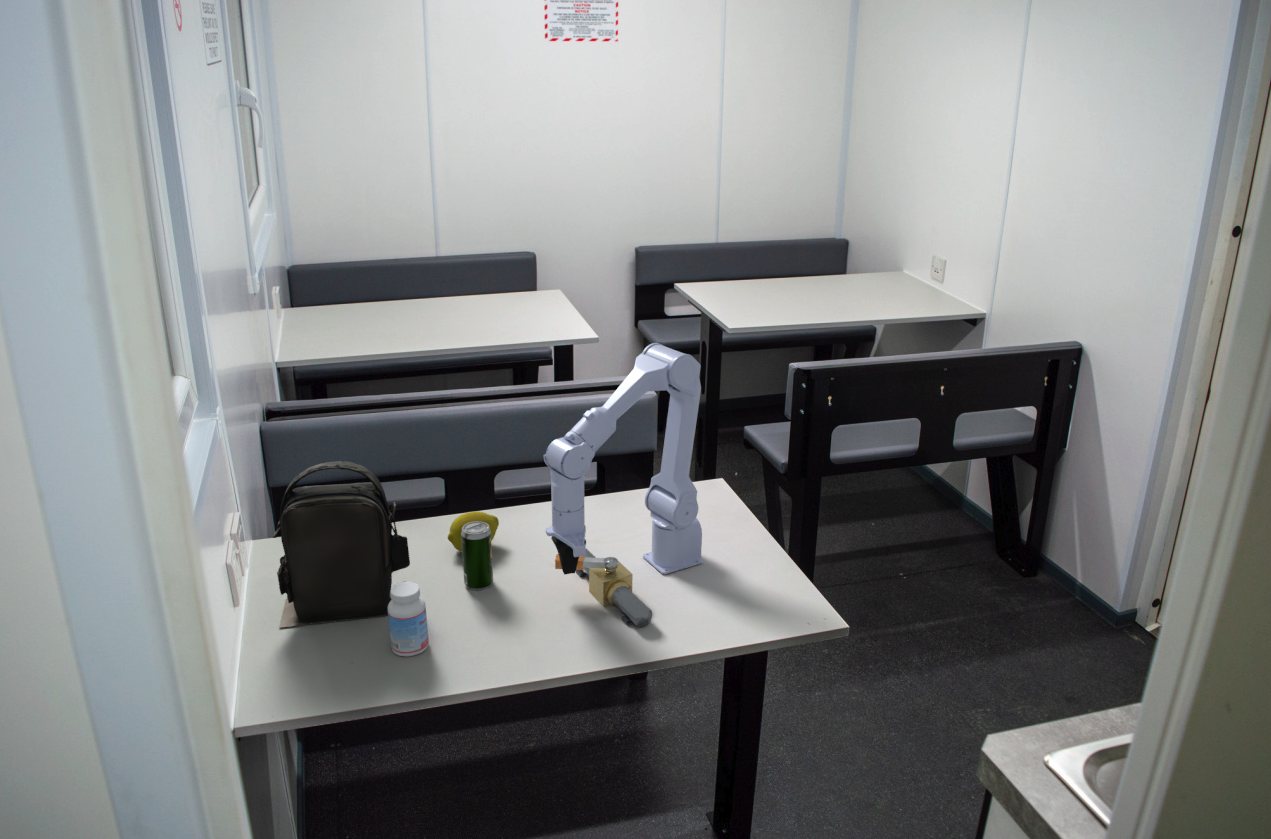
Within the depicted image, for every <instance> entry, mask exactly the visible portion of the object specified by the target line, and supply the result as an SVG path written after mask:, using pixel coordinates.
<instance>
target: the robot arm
mask: <svg viewBox="0 0 1271 839" xmlns="http://www.w3.org/2000/svg"><path fill="white" fill-rule="evenodd" d="M701 367H702V366H701V364H700V363H699V362H698V361H697V359H696V358H695V357H694V356H692V355H691V354H689V353H688V354H687V353H684V352H681V351H679V350H675V349H673V348H670V347H667V346H665V345H663V344H661V343H659V342H653V343H650V344H648V345H647V346H646V347H645V348H644V349H643V351H642V353H639V355H638V356H636V357H635V363H634V367H633V369H632V370H631V371H630V373H629V374H628V375H627V376H626V377H625V379H624V380H623V381H622V382H621V384H619V386H618V387H617V389H616V390H615V391H614V392H613V393H612V394H611V395H610V396H609V397H608V399H607V401H605V403H604V404H603V405H602V406H598V407H591V408H590V409H589V410H588V409H587V410H586V411H585V413H583V414H582V418H581V419H580V420H579V421H578V422H577V423H576V424H575V425H573V427H572V428H571V429H570V430H569V431H567V433H565V435H564V436H563V437H559V438H556V439H554V440H553V441H551V443H549V445H548V447H547V448H546V451H545V454H543V461H544V463H545V465H546V466H548V468H549V475H550V484H551V486H550V487H551V490H550V491H551V526H550V527H547V528H545V534H546V536H547V537H551V538H550V539H551V541H552V543H553V544H554V546H555V549H556V550H557V554H559V558H560V563H561V567H562V569H561V571H562V572H563V575H565V576H566V575H570V574H576V568H577V563H578V559H579V557H580V556H585V555H586V549H587V548H586V546H587V540H586V533H587V532H586V530H587V527H586V525H585V522H586V521H585V517H586V516H585V474H586V473H588V472H589V470H590V468H591V465H592V461H593V459H594V457H595V455H596V452H597V451H598V450H599V449H600V448H601V447H602V445H604V444H605V442H606V441H607V440H608V439H609V438H610V437H611V436H612V435H613V434H614V433H615V432H616V430H617V421H618V419H620V418H621V417H622V415H624V414H625V413H626V412H627V411H628V410H629V409H631V407H633V406H634V405H635V404H637V402H638V401H639V400H640V399H641V398H643V396H645V395H646V394H647V393H648V392H654V391H655V392H656V391H657V392H658V391H659V392H660V391H667V392H668V394H669V395H670V396H669V403H668V404H669V405H668V412H667V417H666V427H665V434H664V435H665V436H664V443H663V450H662V457H661V464H660V472H659V473H657V474H655V475H654V476H652V477H651V479H650V485H649V486H648V489H647V491H646V494H645V497H644V505H645V507H646V509H647V510H648V511H649V512H650V518H651V519H652V523H651V528H652V529H651V530H652V531H651V552H647V553H643V554H642V558H644V559H645V560H646V561H647V562H648V563H649V564H650V565H651V566H652V567H654V568H655V569H656V570H657V571H658V572H659V573H661V574H662V575H666V574H669V573H670V574H671V573H674V572H677V571H680V570H684V569H686V568H690V567H691V568H692V567H694V566H697V565H701V564H704V560H703V559H702V544H703V541H702V540H703V530H702V525H701V523H700V521H699V519H698V518H697V517H698V513H699V503H698V500H697V499H698V497H697V496H698V490H697V488H696V486H695V484H694V483H693V481H692V480H691V477H690V471H691V462H692V456H693V449H694V441H695V434H696V429H697V428H696V426H697V420H698V414H699V407H700V406H699V405H700V399H701V393H702V385H701V380H700V372H701Z"/></svg>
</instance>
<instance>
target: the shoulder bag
mask: <svg viewBox="0 0 1271 839" xmlns="http://www.w3.org/2000/svg"><path fill="white" fill-rule="evenodd" d="M334 469H340V470H347V471H351V472H352V471H353V472H354V473H358V474H361V475H362V476H363V477H365V478H366V479H367V480H369V481H370V482H366V481H365V482H355V483H353V482H352V483H343V484H342V483H340V484H325V485H324V484H323V485H309V486H308V485H307V486H306V485H305V486H298V487H295V486H296V485H297V484H298V483H299V482H300V481H301V480H302V479H304V478H306V477H307V476H308V475H312V474H313V473H316V472H319V471H324V470H325V471H326V470H334ZM294 487H295V488H294ZM281 501H282V502H281V504H280V511H279V521H278V523H277V525H276V528H277V529H276V531H275V532H274V533H273V536H272V539H274V538H275V539H276V538H277V537H278V536H279V534H280V535H281V536H280V538H281V544H282V547H283V553H284V554H283V556H281V557H280V558H279V564H280V565H279V568H278V570H277V572H276V574H277V580H278V586H279V587H278V588H279V592H280V595H281V596H282V595H284V594H286V598H285V600H284V605H283V610H282V614H281V618H280V622H279V626H278V627H279V629H280V628H287V627H289V628H290V627H295V626H297V627H298V626H306V625H308V626H309V625H317V624H327V623H335V622H336V623H337V622H346V621H356V620H365V619H372V618H373V619H375V618H385V617H388V604H389V602H390V601H391V600H392V599H391V592H390V591H391V588H392V584H393V576H392V574H393V573H394V572H397V571H400V570H404V569H406V568H408V567H410V565H411V560H410V559H411V558H410V551H409V543H408V537H407V536H405V535H404V536H403V535H400V534H398V529H397V525H396V520H395V514H396V509H397V508H396V507H397V503H395V501H393V502H392V503H391V504H390V505H389V504H388V500H387V495H386V493H385V490H384V487H383V485H382V483H381V481H380V480H379V478H378V476H376V475H375V473H374V472H373V471H372V470H370V469H369V468H367V467H365V466H363V465H361V464H359V463H356V462H351V461H345V460H337V461H328V462H327V461H326V462H323V463H319V464H315V465H312V466H309V467H308V468H306V469H304V470H303V471H301V472H300V473H299V474H298V475H296V476H295V477H294V478H293V479H292V480H291V481H290V482H289V485H288V486H287V488H286V490H285V492H284V495H283V497H282V500H281ZM392 507H393V509H392ZM391 509H392V512H391ZM393 533H394V534H393Z"/></svg>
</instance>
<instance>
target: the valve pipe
mask: <svg viewBox="0 0 1271 839" xmlns="http://www.w3.org/2000/svg"><path fill="white" fill-rule="evenodd" d="M584 557H587V558H597V556H595V555H594V554H593V553H592V552H591V551H590V550H589V549H588V548H586V555H585V556H584ZM575 574H577V575H578V577H579V578H583V577H588V583H589V584H588V592H589V593H590V594H591V595H592V597H594V598H595V600H597V602H599V604H601V605H602V607H606V606H609V605H611V606H613V607H617V608H618V609H619V610H621V611H622V612H623V615H621V616H620V618H621V622H623V623H624V624H625V625H626V626H629V625H632V624H634V625H635V626H636V627H639V628H643V627H646V626H647V625H649V624H650V622H651V621H652V619H653V614H654V613H653V612H652V610H651V608H649V607H648V606H647V605H646V604H645V603H644V602H643V601H642V600H641V599H640V598H639V597H638V596H637V595H636V594H634V593H633V575H634V574H633V573H632V572H631V571H630V570H629V569H628V568H627V567H626V566H624V564H622V563H621V562H620V561H619V560H618V567H617V568H616V571H615V572H611V573H610V572H606V571H605V568H583V570H576V571H575Z"/></svg>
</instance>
